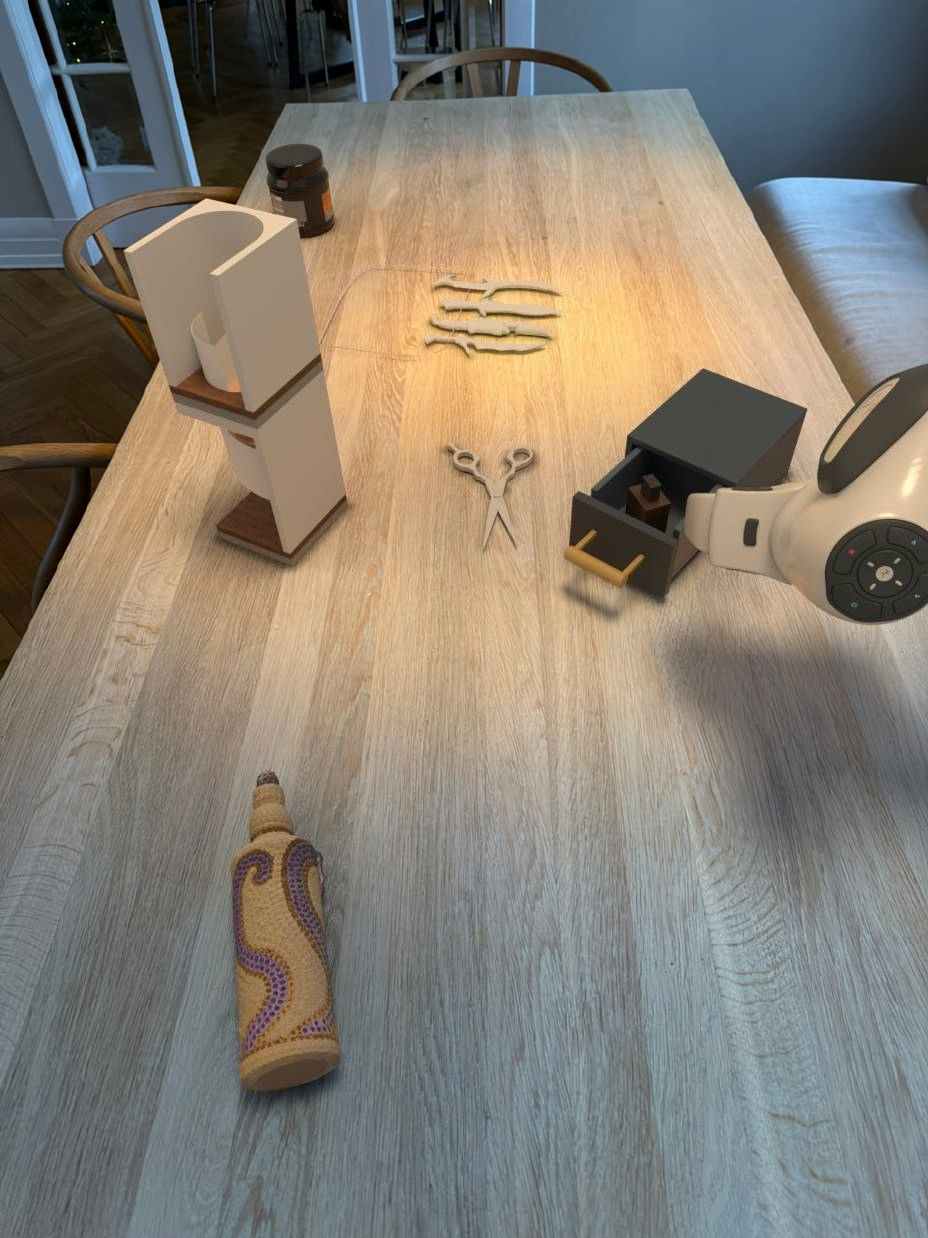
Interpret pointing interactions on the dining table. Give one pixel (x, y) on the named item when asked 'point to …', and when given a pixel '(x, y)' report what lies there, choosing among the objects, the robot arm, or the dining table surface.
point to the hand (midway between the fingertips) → (788, 512)
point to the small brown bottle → (648, 503)
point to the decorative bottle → (281, 952)
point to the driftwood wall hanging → (484, 314)
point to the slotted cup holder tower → (247, 365)
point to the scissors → (493, 489)
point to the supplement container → (300, 187)
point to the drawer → (635, 524)
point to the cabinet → (724, 431)
